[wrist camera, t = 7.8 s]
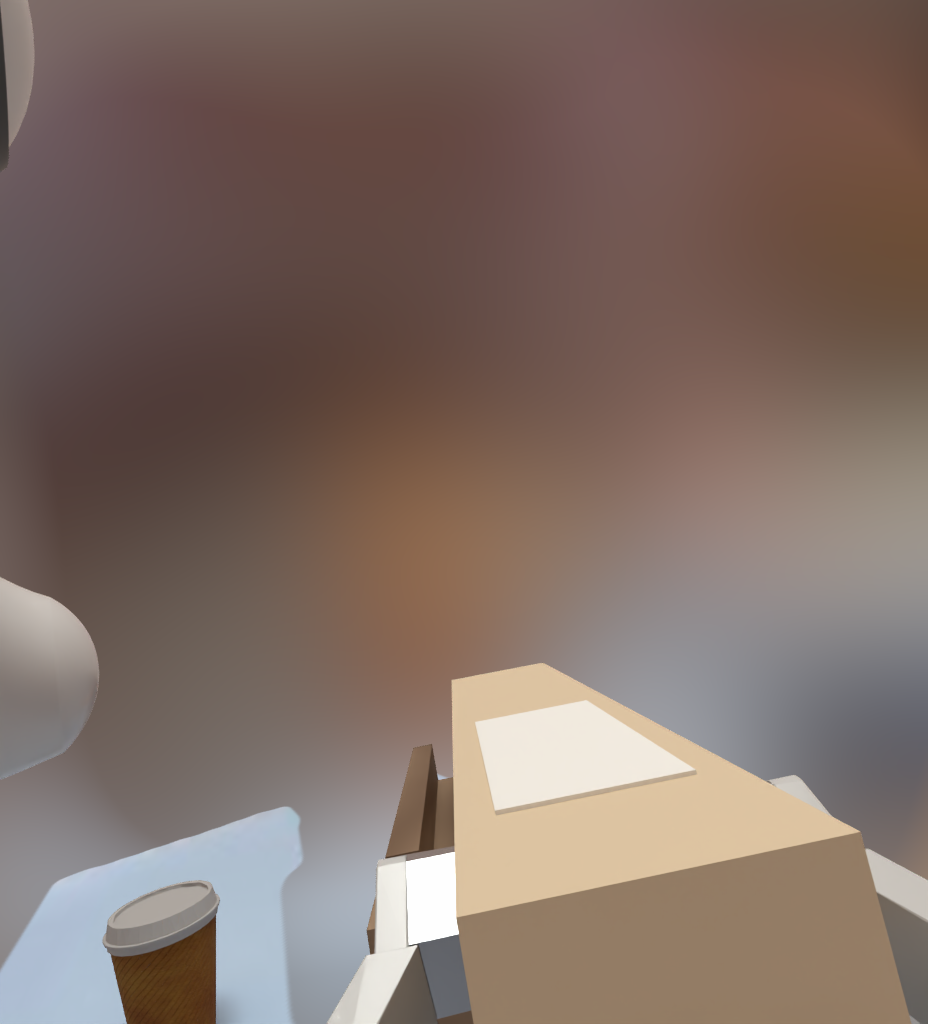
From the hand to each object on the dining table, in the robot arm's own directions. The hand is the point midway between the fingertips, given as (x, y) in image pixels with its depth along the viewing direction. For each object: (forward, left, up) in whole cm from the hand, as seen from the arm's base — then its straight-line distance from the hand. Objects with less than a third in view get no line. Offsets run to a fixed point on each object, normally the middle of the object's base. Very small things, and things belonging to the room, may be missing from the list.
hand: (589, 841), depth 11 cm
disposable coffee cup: (-32, +50, -29) cm, 66 cm away
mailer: (0, +7, -2) cm, 8 cm away
